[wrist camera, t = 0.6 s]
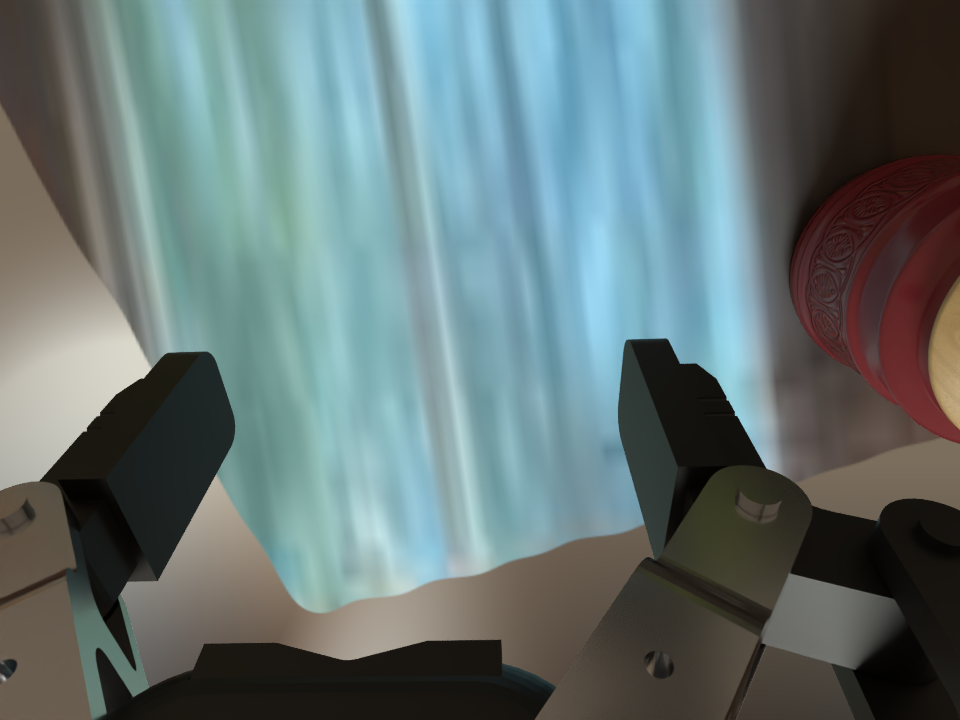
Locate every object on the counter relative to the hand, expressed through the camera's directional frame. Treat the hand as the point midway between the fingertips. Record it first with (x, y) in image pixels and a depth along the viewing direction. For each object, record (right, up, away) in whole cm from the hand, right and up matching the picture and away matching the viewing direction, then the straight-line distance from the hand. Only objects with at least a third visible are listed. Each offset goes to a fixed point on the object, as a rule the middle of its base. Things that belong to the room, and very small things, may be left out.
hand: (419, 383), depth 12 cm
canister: (+27, +6, +26) cm, 38 cm away
